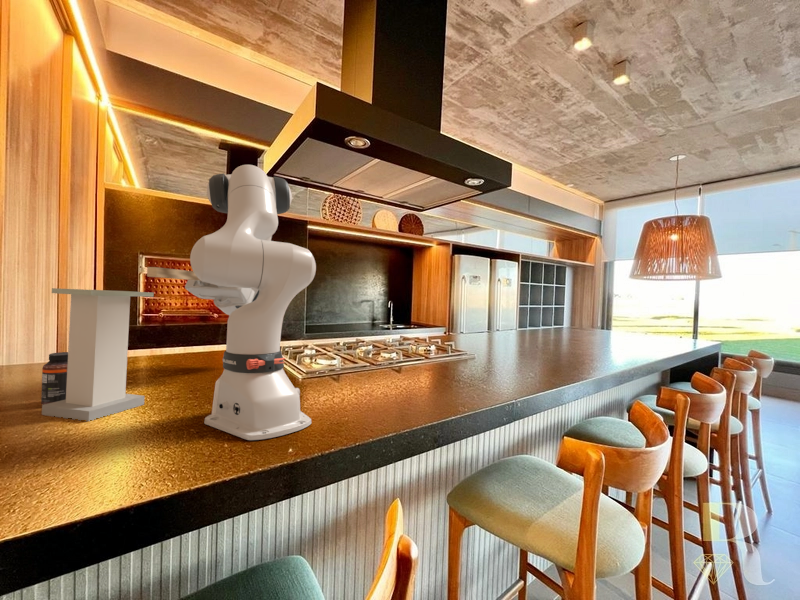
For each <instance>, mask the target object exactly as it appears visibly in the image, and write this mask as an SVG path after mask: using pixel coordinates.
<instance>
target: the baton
mask: <svg viewBox="0 0 800 600" xmlns="http://www.w3.org/2000/svg"><path fill="white" fill-rule="evenodd" d="M146 272H147V273H146V276H147V278H148V277H149V278H163V279H164V278H165V279H172V280H173V279H175V280H186V281H188V280H199V281H201V280H200V279H198V277H197V276H196V275H195V273H194V272H193V270H186V269H185V270H184V269H176V268H165V267H159V266H157V267H156V266H147V268H146Z"/></svg>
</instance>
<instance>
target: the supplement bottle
mask: <svg viewBox="0 0 800 600" xmlns="http://www.w3.org/2000/svg"><path fill="white" fill-rule="evenodd" d="M67 367H68V351H65V352H63V351H62V352H60V351H59V352H53V353H49V354H48V362H46V363H45V364H44V365H43V366H42V369H41V370H42V374H41V396H40V398H41V399H40V401H41V402H40V403H41V406H42V405H44V404H48V403H53V402H57V401H61V400H65V399H66V387H67Z"/></svg>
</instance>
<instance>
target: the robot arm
mask: <svg viewBox="0 0 800 600" xmlns="http://www.w3.org/2000/svg"><path fill="white" fill-rule="evenodd" d="M206 195H207V198H208V201H209V203H210V204H211V207H212V208H213V210H215V211H217V212H218V213H223V214H227V219H226V222H225V224H224V225H223V226H221V227H220V229H218V230H216V231H215V232H214V231H213V233H209V234H207V235H203V236H202V237H201V238H200V239H198V240H197V241H196V242H195V243H194V245H193V247H192V249H191V251H190V256H189V260H190V261H189V262H190V266H191V269H192V270H191V271H193V272H194V273H195V275H196V276H197V277H198V279H200V280H201V281H199V280H186V283H185V285H184V289H185V290H186V291H188V292H189V293H190V294H192V295H193V296H194V297H197V298H199V299H204V300H213V304H214V305H215V307H216V308H218V309H219V310H221V311H222V312H223V313H224V314H226V315H227V316H228V318H227V325H226V326H227V327H226V329H227V330H226V348H225V351H224V352H223V357H222V368H223V372H222V373H221V375H220V376H219V377H218V379H217V380H216V381H215V384H214V392H213V398H212V400H213V401H212V408H211V414H208V415H207V416H205V418H204V423H203V424H205V425H207V426H208V427H209V426H210V427H211V428H214V429H218V430H219V431H223V432H226V433H227V434H231V435H233V436H236V437H238V438H241V439H244V440H247V441H259V440H267V439H272V438H276V437H281V436H285V435H288V434H291V433H294V432H298V431H302V430H303V429H305V428H307V427H309V426H310V425H311V424H312V418H311V417H309V416H308V415H307V414H306V413H304V412H303V411H301V398H300V397H301V390H300V388H299V387H295V386H294V385H293V383H292V382H291V380H290V379H289V377H288V375H287V374H286V372H285V370H284V367H285V364H286V362H285V361H284V360H286V357H284V356H283V353H282V350H281V338H282V328H283V323H284V317H285V314H286V311H287V309H288V307H289V306H290V304H291V302H292V300H293V299H294V298H295V297H296V295H298V294H299V293H300V292H302V291H303V290H304V289H306V288H307V287H308V286H309V285H310V284H312V282H313V280H314V278H315V277H316V271H317V263H316V260H315V257H314V255H313V253H312V252H311V251H310V250H309V248H306V247H302V246H299V245H296V244H293V243H290V242H285V241H284V242H282V241H274V240H272V238H273V235H274V234H275V233H276V231H277V230H278V226H279V217H278V215H282V214H285V213H287V212H288V211H289V210H290V208H291V204H292V202H293V194H292V190H291V188H290V186H289V183H288V181H287V180H286V179H284V178H282V177H277V176H273V177H272V176H268V175H267V173H266V172H265V171H264V170H263V169H262V168H260V167H259V166H256V165H253V164H242V165H240V166H237V167H236V168H235V169H234V170H233V171H232V173H231V174H225V173H218V174H213V175H212V176H211V177H210V178H209V179H208V184H207V185H206Z"/></svg>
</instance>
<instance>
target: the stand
mask: <svg viewBox="0 0 800 600" xmlns="http://www.w3.org/2000/svg"><path fill="white" fill-rule="evenodd" d="M154 293H155V292H146V291H133V290H132V291H129V290H110V289H109V290H106V289H105V290H104V289H81V288H79V289H78V288H77V289H76V288H57V287H56V288H51V294H61V295H70V311H69V331H68V348H67V349H68V351H67V352H68V367H67V387H66V399H65V400H61V401H57V402H53V403H48V404H44V405H42V404H41V415H42V416H48V417H54V416H55V418H61V417H63V419H68V418H72V419H71V420H75V419H78V420H77V421H81V420H86V421H85V422H88V421H89V422H91V421H90V420H92V421H94V419H95V420H97V419H96V418H99V419H101V418H100V417H102V418H104V417H103V416H105V417H107V415H108V416H111V415H110V414H112V415H115V414H119V413H121V412H124V410H125V411H127V409H128V410H131V409H134V408H138V407H141V406H144V405H145V395H143V394H142V395H141V394H140V395H139V394H132V393H126V391H127V390H126V389H127V372H128V370H127V367H128V350H129V349H128V347H129V331H130V330H129V329H130V313H131V312H130V309H131V307H130V306H131V297H144V298H146V297H149V298H154V295H155V294H154ZM114 413H115V414H114Z"/></svg>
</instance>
